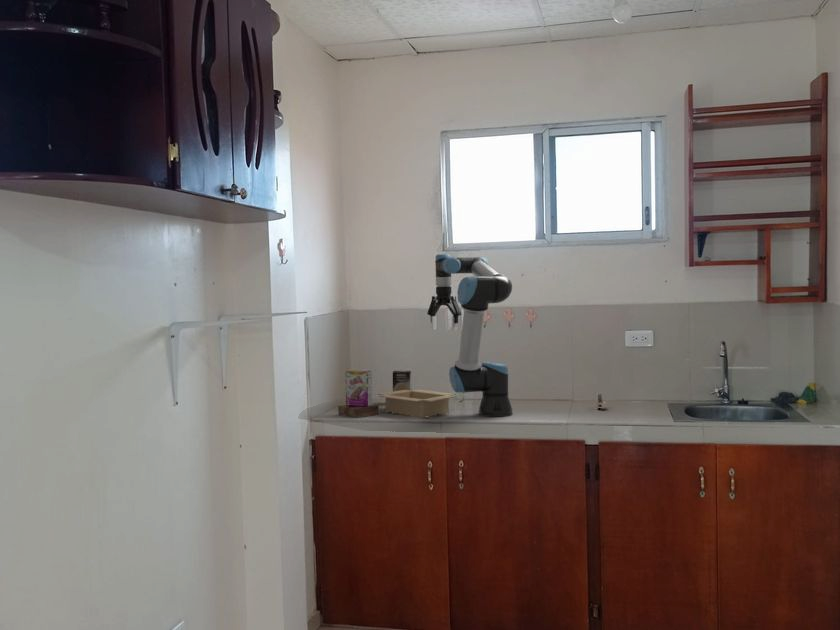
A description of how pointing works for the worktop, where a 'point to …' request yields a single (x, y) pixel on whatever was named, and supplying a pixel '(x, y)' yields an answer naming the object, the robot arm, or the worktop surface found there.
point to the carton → (417, 402)
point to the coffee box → (401, 380)
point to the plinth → (358, 410)
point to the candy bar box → (359, 388)
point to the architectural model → (600, 400)
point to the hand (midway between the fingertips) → (444, 329)
